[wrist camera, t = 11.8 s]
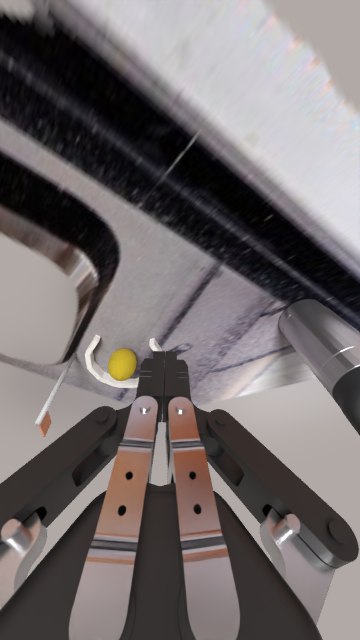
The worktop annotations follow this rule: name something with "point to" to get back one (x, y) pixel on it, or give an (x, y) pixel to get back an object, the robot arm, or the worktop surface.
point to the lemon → (122, 364)
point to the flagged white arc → (104, 377)
